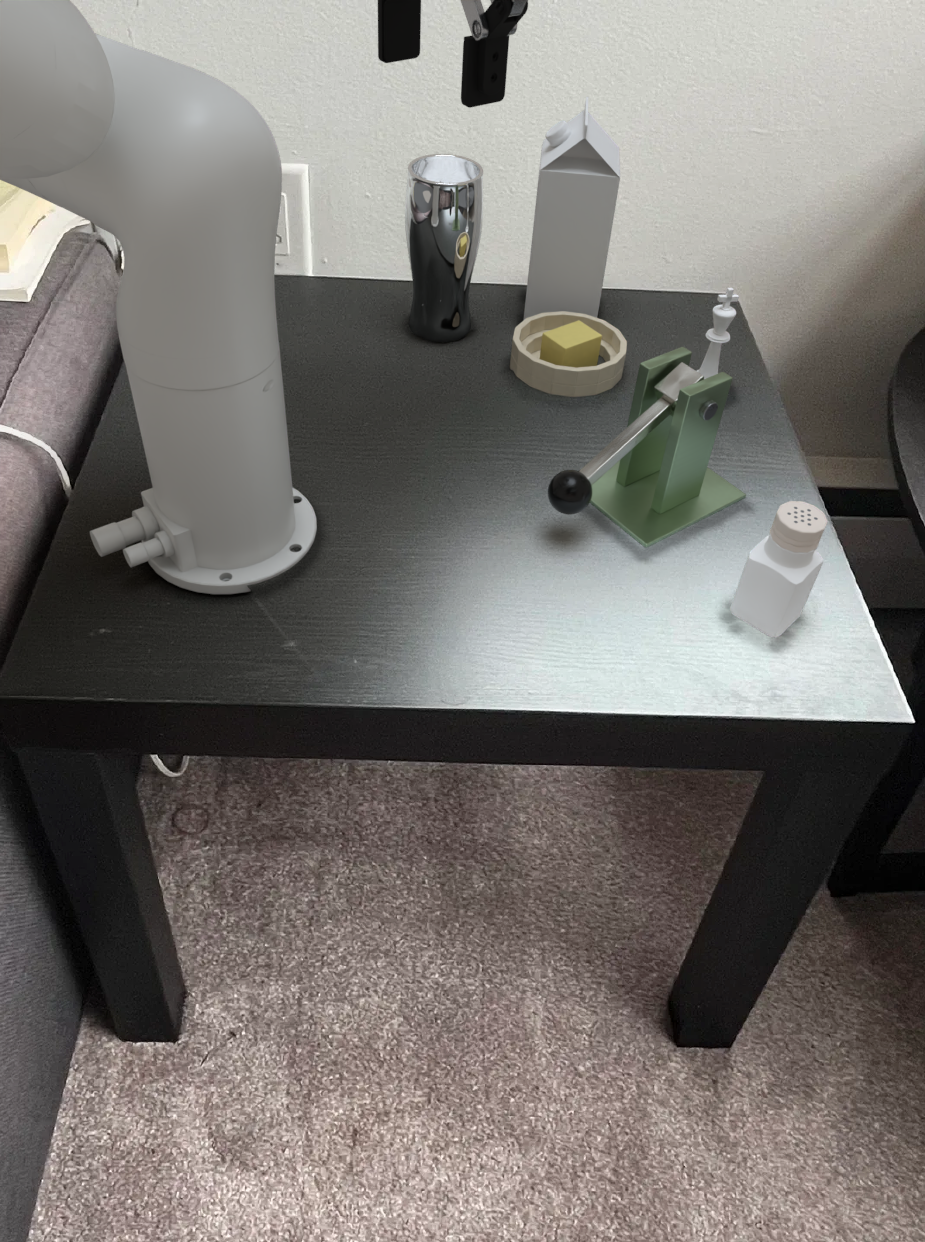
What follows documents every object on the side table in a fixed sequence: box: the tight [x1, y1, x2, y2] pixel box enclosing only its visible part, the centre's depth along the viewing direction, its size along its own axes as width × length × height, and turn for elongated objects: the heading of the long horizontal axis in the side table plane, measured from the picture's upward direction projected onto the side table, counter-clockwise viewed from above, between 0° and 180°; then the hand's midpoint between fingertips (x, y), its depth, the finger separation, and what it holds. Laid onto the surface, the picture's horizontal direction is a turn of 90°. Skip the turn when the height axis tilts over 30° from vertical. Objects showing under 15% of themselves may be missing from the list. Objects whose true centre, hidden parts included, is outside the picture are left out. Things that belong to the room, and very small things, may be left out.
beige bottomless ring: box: [509, 311, 628, 398], centre depth 89 cm, size 10×10×4 cm
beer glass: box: [404, 153, 484, 343], centre depth 90 cm, size 7×7×15 cm
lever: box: [547, 362, 704, 516], centre depth 71 cm, size 14×3×3 cm, turn 127°
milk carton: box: [522, 96, 621, 321], centre depth 92 cm, size 7×7×19 cm
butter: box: [540, 320, 602, 368], centre depth 89 cm, size 4×3×4 cm
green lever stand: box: [589, 346, 747, 549], centre depth 74 cm, size 11×9×12 cm
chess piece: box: [695, 287, 740, 379], centre depth 86 cm, size 5×5×10 cm
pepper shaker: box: [728, 500, 829, 639], centre depth 66 cm, size 4×4×10 cm
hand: (439, 80), depth 67 cm, fingers open, 9 cm apart
